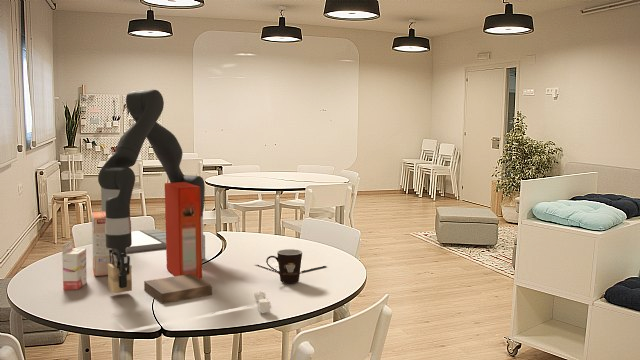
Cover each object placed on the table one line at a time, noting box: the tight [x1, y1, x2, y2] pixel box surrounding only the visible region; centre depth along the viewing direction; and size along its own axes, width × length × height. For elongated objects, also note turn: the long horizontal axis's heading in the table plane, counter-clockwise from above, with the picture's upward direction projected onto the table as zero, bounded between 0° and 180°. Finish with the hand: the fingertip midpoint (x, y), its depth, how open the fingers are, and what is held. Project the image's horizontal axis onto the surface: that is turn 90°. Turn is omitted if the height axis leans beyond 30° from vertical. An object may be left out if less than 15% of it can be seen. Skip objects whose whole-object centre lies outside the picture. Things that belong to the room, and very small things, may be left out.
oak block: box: [107, 264, 133, 294], centre depth 172 cm, size 6×6×8 cm
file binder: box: [164, 182, 203, 279], centre depth 196 cm, size 8×17×32 cm, turn 30°
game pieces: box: [253, 290, 271, 314], centre depth 164 cm, size 12×3×3 cm, turn 14°
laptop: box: [100, 186, 166, 254], centre depth 247 cm, size 35×26×28 cm
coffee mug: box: [265, 248, 303, 284], centre depth 191 cm, size 12×9×10 cm
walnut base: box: [143, 274, 213, 304], centre depth 176 cm, size 16×16×3 cm
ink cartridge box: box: [61, 239, 88, 291], centre depth 181 cm, size 9×5×15 cm, turn 5°
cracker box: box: [91, 211, 110, 277], centre depth 199 cm, size 14×6×21 cm, turn 24°
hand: (120, 284), depth 172 cm, fingers closed on oak block, 5 cm apart
